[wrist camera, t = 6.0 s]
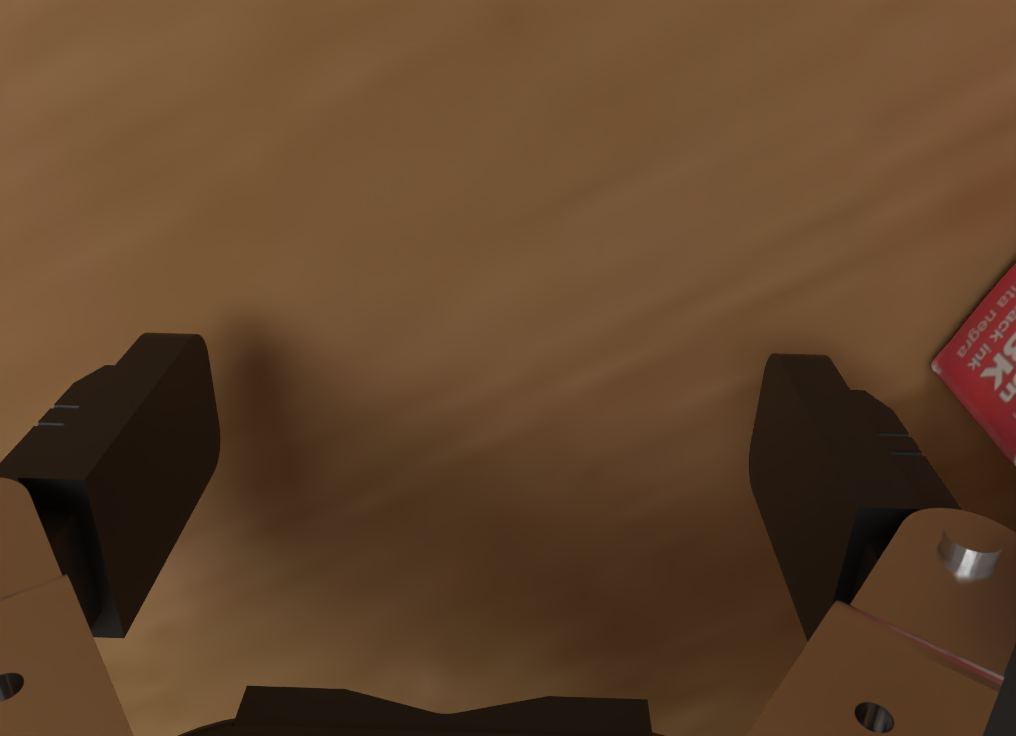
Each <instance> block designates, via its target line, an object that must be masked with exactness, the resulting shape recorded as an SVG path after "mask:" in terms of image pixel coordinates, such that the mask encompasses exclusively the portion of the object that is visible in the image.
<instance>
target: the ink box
mask: <svg viewBox="0 0 1016 736" xmlns="http://www.w3.org/2000/svg"><path fill="white" fill-rule="evenodd" d="M931 367H932V370H933V371H934V372H935V374H936V375H937V376H939V377H940V378H941V379H942V381H943V382H944V383H945V384H946V385H947V386H948V388H949V389H950V390H951V391H952V392H953V394H954V395H955V396H956V398H957V399H958V400H959V401H960V402H961V403H962V404H963V406H964V407H965V408H966V409H967V410H968V412H969V413H970V414H971V415H972V416H973V418H974V419H975V420H976V421H977V422H978V423H979V424H980V426H981V427H982V428H983V429H984V430H985V431H986V433H987V434H988V435H989V436H990V437H991V439H992V440H993V441H994V442H995V444H996V445H997V446H998V448H999V449H1000V450H1001V451H1002V453H1003V454H1004V455H1005V456H1006V457H1007V458H1008V459H1009V460H1010V461H1011V462H1012V463H1013V464H1014V465H1015V467H1016V263H1015V264H1014V265H1013V266H1012V267H1011V268H1010V269H1009V270H1008V271H1007V273H1006V274H1005V275H1004V276H1003V277H1002V278H1001V280H1000V281H999V282H998V283H997V284H996V285H995V287H994V288H993V289H992V290H991V291H990V292H989V294H988V295H987V296H986V297H985V298H984V299H983V301H982V302H981V303H980V304H979V305H978V307H977V308H976V309H975V310H974V312H973V313H972V314H971V315H970V316H969V318H968V319H967V320H966V321H965V323H964V324H963V325H962V326H961V328H960V329H959V330H958V332H957V333H956V334H955V335H954V337H953V338H952V339H951V340H950V342H949V343H948V344H947V345H946V346H945V347H944V348H943V349H942V351H941V352H940V353H939V354H938V355H937V356H936V357H935V359H934V360H933V361H932V364H931Z"/></svg>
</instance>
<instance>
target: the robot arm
mask: <svg viewBox="0 0 1016 736" xmlns="http://www.w3.org/2000/svg"><path fill="white" fill-rule="evenodd" d="M908 434H909V433H908V432H907V430H906V429H905V427H904V426H903V424H902V423H901V421H900V420H899V419H898V417H897V416H896V414H895V413H894V411H893V410H891V409H890V408H889V407H887V406H886V405H884V404H883V403H881V402H880V401H879V400H877V399H876V398H874V397H873V396H871V395H870V394H869V393H867V392H866V391H862V390H850V389H849V388H848V386H847V385H846V383H845V381H844V380H843V378H842V377H841V375H840V374H839V372H838V370H837V369H836V367H835V366H834V364H833V363H832V361H831V359H830V358H829V357H828V356H826V355H806V354H771V356H770V357H769V358H768V361H767V363H766V366H765V370H764V375H763V381H762V386H761V391H760V397H759V402H758V408H757V413H756V418H755V424H754V429H753V434H752V440H751V445H750V453H749V475H750V483H751V488H752V491H753V494H754V497H755V500H756V502H757V505H758V508H759V510H760V513H761V516H762V519H763V521H764V524H765V527H766V530H767V532H768V535H769V538H770V540H771V543H772V546H773V549H774V551H775V554H776V557H777V559H778V562H779V565H780V568H781V570H782V573H783V576H784V578H785V581H786V584H787V587H788V589H789V592H790V595H791V597H792V600H793V603H794V606H795V608H796V611H797V614H798V616H799V619H800V622H801V625H802V627H803V630H804V633H805V636H806V638H807V641H808V643H807V644H806V646H805V647H804V649H803V650H802V652H801V653H800V655H799V656H798V658H797V659H796V661H795V662H794V664H793V666H792V667H791V669H790V670H789V672H788V673H787V675H786V676H785V678H784V679H783V681H782V682H781V684H780V685H779V687H778V688H777V690H776V691H775V693H774V694H773V696H772V697H771V699H770V700H769V702H768V703H767V705H766V706H765V708H764V709H763V711H762V712H761V714H760V715H759V717H758V718H757V720H756V721H755V723H754V725H753V726H752V728H751V729H750V731H749V732H748V734H747V735H746V736H1016V533H1015V532H1014V531H1012V530H1010V529H1009V528H1007V527H1006V526H1004V525H1002V524H1000V523H998V522H996V521H994V520H991V519H989V518H987V517H984V516H981V515H978V514H975V513H972V512H967V511H963V510H962V509H961V508H960V507H959V505H958V504H957V502H956V501H955V499H954V498H953V496H952V495H951V494H950V492H949V491H948V489H947V488H946V486H945V485H944V483H943V482H942V481H941V479H940V478H939V476H938V475H937V473H936V472H935V470H934V469H933V468H932V466H931V465H930V463H929V462H928V460H927V459H926V458H925V456H921V450H920V449H919V447H918V446H917V445H916V443H915V442H914V440H913V439H912V438H909V437H908ZM219 451H220V427H219V420H218V414H217V407H216V401H215V395H214V388H213V382H212V376H211V369H210V363H209V356H208V351H207V347H206V344H205V341H204V339H203V338H202V337H201V336H200V335H198V334H173V333H144V334H142V335H141V336H140V337H139V338H138V339H137V341H136V342H135V343H134V344H133V345H132V346H131V347H130V349H129V350H128V351H127V352H126V353H125V354H124V356H123V357H122V358H121V359H120V360H119V361H118V362H117V364H116V365H115V366H113V365H105V366H103V367H101V368H100V369H98V370H96V371H94V372H93V373H91V374H89V375H87V376H85V377H84V378H82V379H80V380H78V381H77V382H75V383H73V384H72V386H71V387H70V388H69V389H68V390H67V391H66V392H65V393H64V394H63V395H62V396H61V397H60V399H59V400H58V401H57V402H56V403H55V404H54V409H52V408H50V409H49V411H48V412H47V413H46V414H45V415H44V416H43V417H42V418H41V419H40V420H39V421H38V426H34V427H33V428H32V429H31V430H30V431H29V432H28V433H27V434H26V435H25V437H24V438H23V439H22V440H21V441H20V442H19V443H18V444H17V445H16V446H15V447H14V448H13V450H12V451H11V452H10V453H9V454H8V455H7V456H6V457H5V458H4V459H3V460H2V462H1V463H0V736H133V733H132V731H131V728H130V726H129V723H128V721H127V719H126V716H125V714H124V711H123V709H122V706H121V704H120V701H119V699H118V697H117V694H116V692H115V689H114V687H113V684H112V682H111V679H110V677H109V675H108V672H107V670H106V667H105V665H104V662H103V660H102V657H101V655H100V653H99V650H98V648H97V645H96V643H95V640H94V638H93V637H106V638H125V636H126V634H127V632H128V630H129V628H130V627H131V625H132V623H133V621H134V619H135V617H136V615H137V614H138V612H139V610H140V608H141V606H142V604H143V603H144V601H145V599H146V597H147V595H148V593H149V591H150V590H151V588H152V586H153V584H154V582H155V580H156V579H157V577H158V575H159V573H160V571H161V569H162V567H163V566H164V564H165V562H166V560H167V558H168V556H169V554H170V553H171V551H172V549H173V547H174V545H175V543H176V542H177V540H178V538H179V536H180V534H181V532H182V530H183V529H184V527H185V525H186V523H187V521H188V519H189V518H190V516H191V514H192V512H193V510H194V508H195V506H196V505H197V503H198V501H199V499H200V497H201V495H202V493H203V492H204V490H205V488H206V486H207V484H208V482H209V481H210V479H211V477H212V475H213V473H214V471H215V469H216V466H217V462H218V458H219ZM178 736H664V735H660V734H657V733H653V732H652V729H651V722H650V715H649V708H648V701H647V700H644V699H615V698H586V697H557V696H547V697H542V698H536V699H531V700H525V701H520V702H514V703H509V704H503V705H498V706H492V707H487V708H481V709H476V710H470V711H465V712H459V713H453V714H440V713H434V712H430V711H426V710H423V709H419V708H415V707H411V706H407V705H403V704H400V703H396V702H392V701H388V700H384V699H381V698H377V697H373V696H369V695H365V694H361V693H358V692H354V691H350V690H346V689H325V688H296V687H267V686H247V687H246V690H245V693H244V695H243V698H242V701H241V704H240V707H239V709H238V712H237V715H236V718H234V719H229V720H224V721H220V722H216V723H213V724H209V725H206V726H202V727H199V728H196V729H194V730H191V731H188V732H186V733H183V734H181V735H178Z"/></svg>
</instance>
